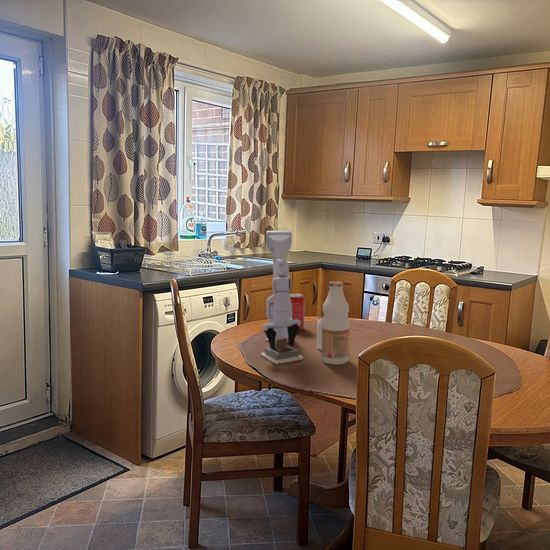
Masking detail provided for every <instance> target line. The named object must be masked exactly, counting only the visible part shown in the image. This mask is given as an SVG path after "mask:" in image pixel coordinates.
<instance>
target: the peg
mask: <svg viewBox="0 0 550 550" xmlns="http://www.w3.org/2000/svg"><path fill="white" fill-rule="evenodd" d="M287 345H288V342H287V338H286V337H277V338H276V344H275V346H276V352H278V353H281V352H286V351H287Z"/></svg>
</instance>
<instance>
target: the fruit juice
mask: <svg viewBox="0 0 550 550" xmlns="http://www.w3.org/2000/svg"><path fill="white" fill-rule="evenodd" d="M328 288H329V290H328V294H327V296H326V299H325V301H324V302H323V304H322V313H323V316H324V317H323V320H322V350H321V362H323V363H325V364H327V365H332V366H333V365H335V366H336V365H337V366H338V365H339V366H340V365H344V364H347V363H348V362H349V351H350V350H349V346H350V342H349V341H350V320H349V316H348V315H349V311H350V305H349V303H348V301H347V299H346V298H345V293H344V291H343V288H344V282H342V281H329V283H328Z"/></svg>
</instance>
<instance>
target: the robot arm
mask: <svg viewBox="0 0 550 550" xmlns="http://www.w3.org/2000/svg"><path fill="white" fill-rule="evenodd" d="M292 235H293V234H292V231H291V230H267V231H266V232H265V244H266V247H265V248H266V252H268V253H271V256H272V276H273V277H272V280H271V281H272V284H271V285H272V286H271V287H272V294H271V295H270V296H269V297H268V298H267V299H266V307H265V308H266V309H265V310H266V311H265V312H266V318H267V319H269V322H267V323H262V330H263V332H264V333H265V336H266V338H265V341H267V342H268V343H269V347H270V348H271V349H273V350H274V349H275V346H276V338H277V337H286V338H287V345H288V346H290V347H293V346H294V343H295V342H296V337H297V335H298V333H299V331H300V330H299V327H298V326H300V320H298V319H295V320H292V319H291V318H290V317H291V313H292V310H291V300H290V294H291V292H292V278H291V274H290V267H289V262H288V261H286V253H288V252H290V251H291V249H292V248H291V247H292V245H293V244H292V243H293V241H292V240H293V239H292V238H293V236H292Z"/></svg>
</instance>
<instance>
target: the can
mask: <svg viewBox="0 0 550 550" xmlns="http://www.w3.org/2000/svg"><path fill="white" fill-rule="evenodd" d="M323 317H324V315H321V316H319V317H318V320H317V328H316V329H317V330H316V331H317V332H316V334H317V335H316V348H317V350H320V351H322V320H323Z"/></svg>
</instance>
